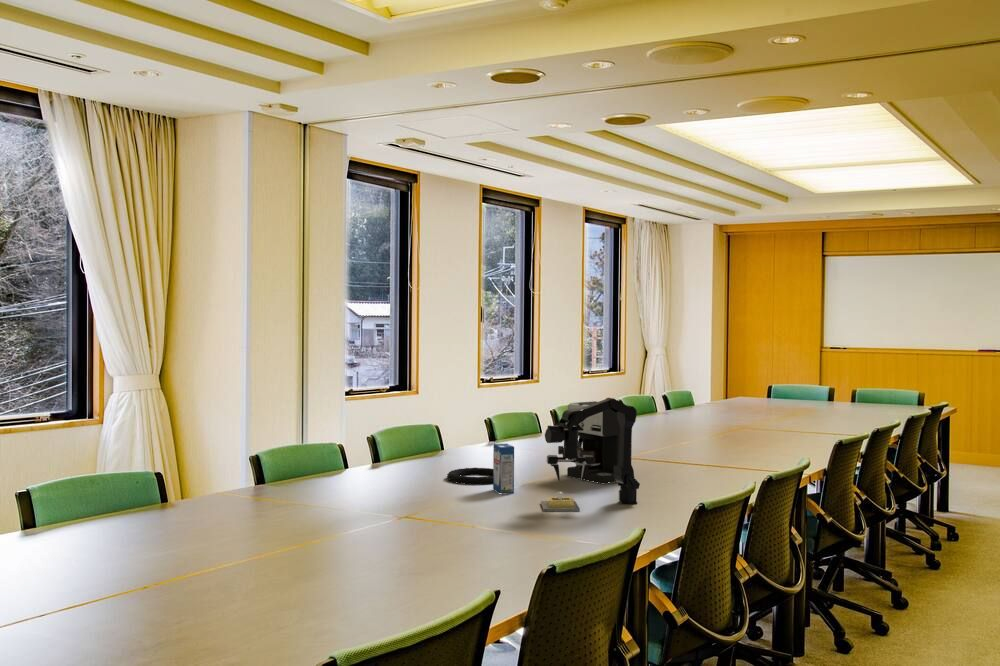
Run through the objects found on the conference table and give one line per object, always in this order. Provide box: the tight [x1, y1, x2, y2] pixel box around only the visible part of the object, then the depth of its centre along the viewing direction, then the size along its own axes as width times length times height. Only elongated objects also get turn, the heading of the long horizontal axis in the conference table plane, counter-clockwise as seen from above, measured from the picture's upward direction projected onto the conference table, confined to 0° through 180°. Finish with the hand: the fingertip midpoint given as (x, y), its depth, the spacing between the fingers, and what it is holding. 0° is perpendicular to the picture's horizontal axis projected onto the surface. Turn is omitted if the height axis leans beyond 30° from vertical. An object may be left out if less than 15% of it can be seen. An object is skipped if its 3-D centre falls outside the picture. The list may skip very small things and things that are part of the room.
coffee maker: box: [566, 400, 633, 484], centre depth 406 cm, size 28×20×35 cm
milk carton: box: [492, 443, 515, 494], centre depth 371 cm, size 10×6×20 cm, turn 18°
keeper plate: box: [540, 491, 581, 512], centre depth 341 cm, size 14×14×6 cm
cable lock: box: [446, 467, 493, 485], centre depth 399 cm, size 28×4×30 cm
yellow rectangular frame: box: [546, 496, 575, 507], centre depth 341 cm, size 10×6×2 cm, turn 92°
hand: (570, 481), depth 341 cm, fingers open, 9 cm apart
